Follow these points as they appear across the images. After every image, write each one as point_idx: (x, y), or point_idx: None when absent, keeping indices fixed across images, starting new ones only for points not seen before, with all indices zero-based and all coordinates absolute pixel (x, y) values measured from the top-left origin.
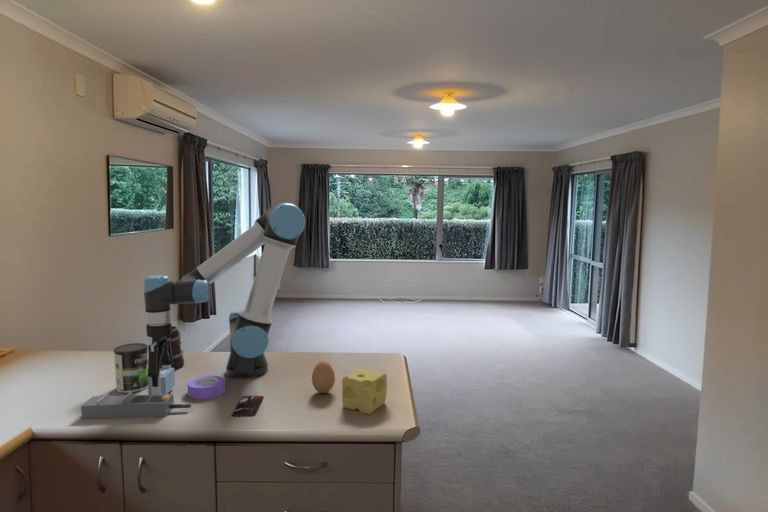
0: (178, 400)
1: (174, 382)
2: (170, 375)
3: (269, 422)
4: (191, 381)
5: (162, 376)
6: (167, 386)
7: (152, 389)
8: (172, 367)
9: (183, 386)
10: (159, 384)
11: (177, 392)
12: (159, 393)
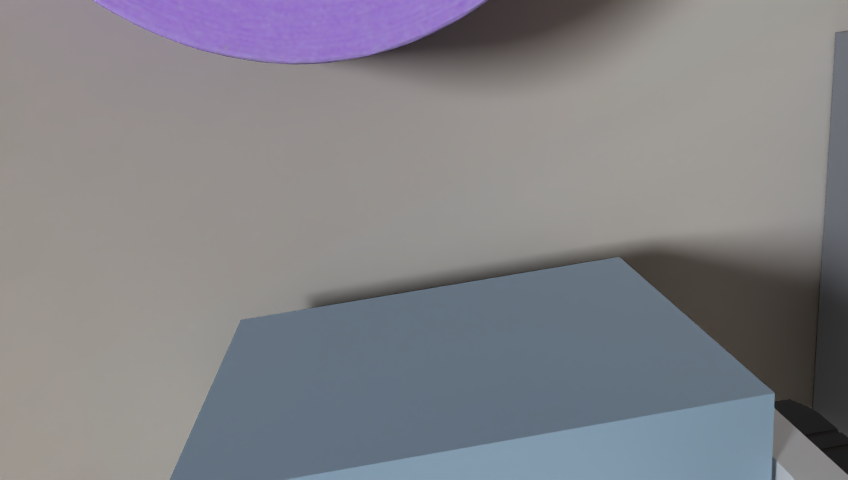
0: (640, 66)
1: (253, 337)
2: (434, 405)
3: None
4: (300, 11)
5: (719, 466)
6: (585, 308)
7: None
8: None
9: (150, 230)
10: None
11: (372, 209)
12: None
